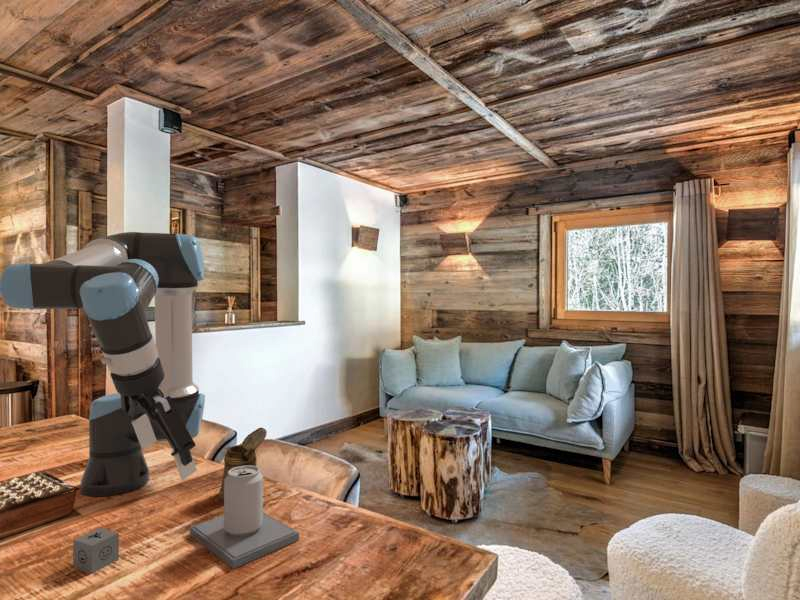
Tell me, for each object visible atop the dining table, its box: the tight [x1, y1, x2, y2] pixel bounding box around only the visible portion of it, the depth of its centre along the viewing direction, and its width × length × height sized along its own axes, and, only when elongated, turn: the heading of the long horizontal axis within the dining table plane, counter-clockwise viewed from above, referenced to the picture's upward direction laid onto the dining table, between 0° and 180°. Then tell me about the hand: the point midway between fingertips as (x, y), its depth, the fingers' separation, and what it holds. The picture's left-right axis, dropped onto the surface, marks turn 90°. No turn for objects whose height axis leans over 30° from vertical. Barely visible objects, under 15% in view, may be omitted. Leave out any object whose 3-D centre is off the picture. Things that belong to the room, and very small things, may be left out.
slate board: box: [189, 511, 300, 570], centre depth 95 cm, size 18×14×2 cm
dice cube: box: [72, 527, 120, 575], centre depth 86 cm, size 5×5×5 cm
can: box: [223, 465, 264, 536], centre depth 95 cm, size 8×8×12 cm
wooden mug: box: [218, 427, 268, 501], centre depth 115 cm, size 9×14×18 cm, turn 50°
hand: (168, 458), depth 88 cm, fingers open, 13 cm apart
